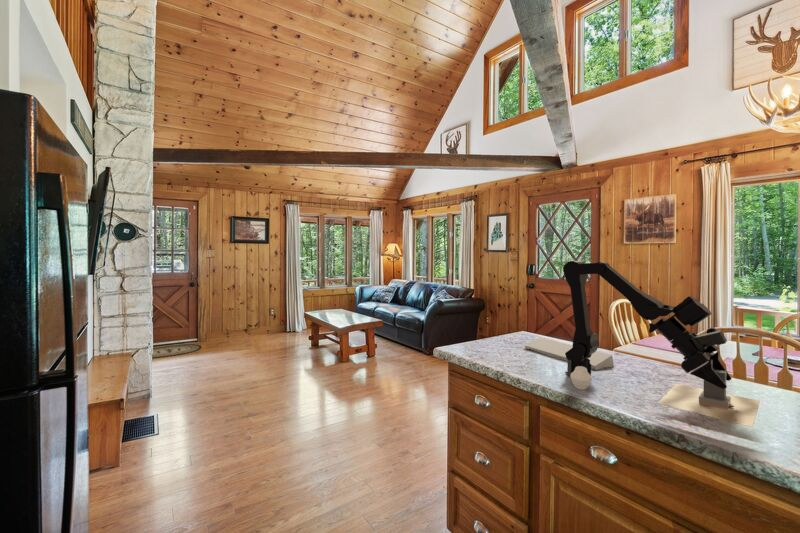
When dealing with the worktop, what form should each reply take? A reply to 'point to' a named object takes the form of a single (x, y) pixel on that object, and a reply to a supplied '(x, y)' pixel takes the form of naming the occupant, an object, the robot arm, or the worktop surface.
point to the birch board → (689, 401)
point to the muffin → (581, 378)
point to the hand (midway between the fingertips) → (727, 383)
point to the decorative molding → (559, 350)
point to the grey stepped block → (715, 393)
